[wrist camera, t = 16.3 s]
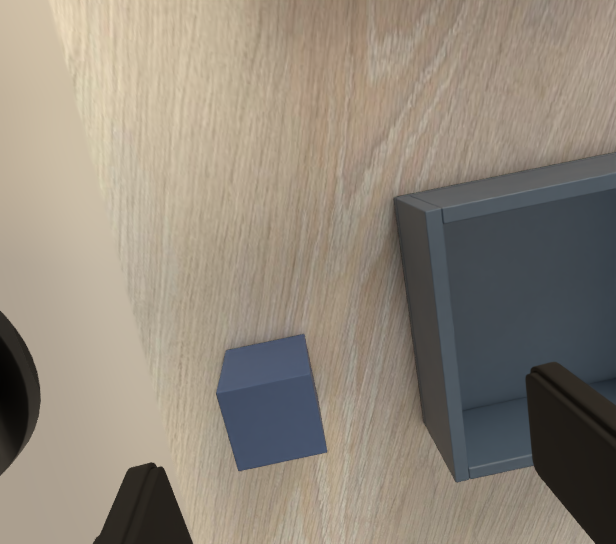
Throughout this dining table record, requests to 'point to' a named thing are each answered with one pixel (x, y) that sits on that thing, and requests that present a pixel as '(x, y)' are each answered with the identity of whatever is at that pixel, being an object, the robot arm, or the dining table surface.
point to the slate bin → (508, 301)
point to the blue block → (270, 403)
